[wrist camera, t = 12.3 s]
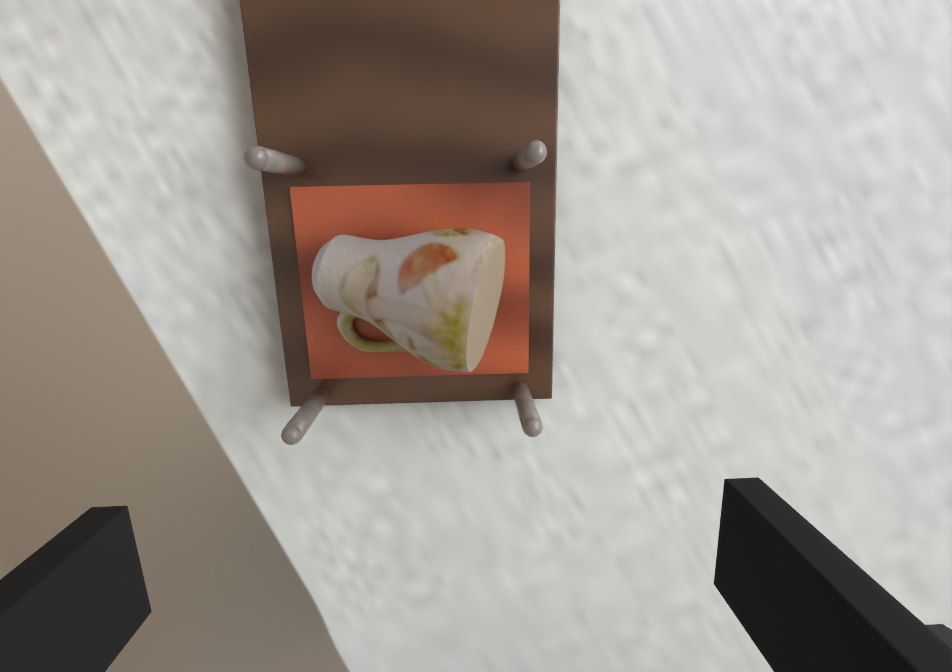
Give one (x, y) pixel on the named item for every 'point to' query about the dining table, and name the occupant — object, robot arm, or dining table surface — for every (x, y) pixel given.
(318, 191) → the rack
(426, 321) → the mug
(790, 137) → the dining table surface
